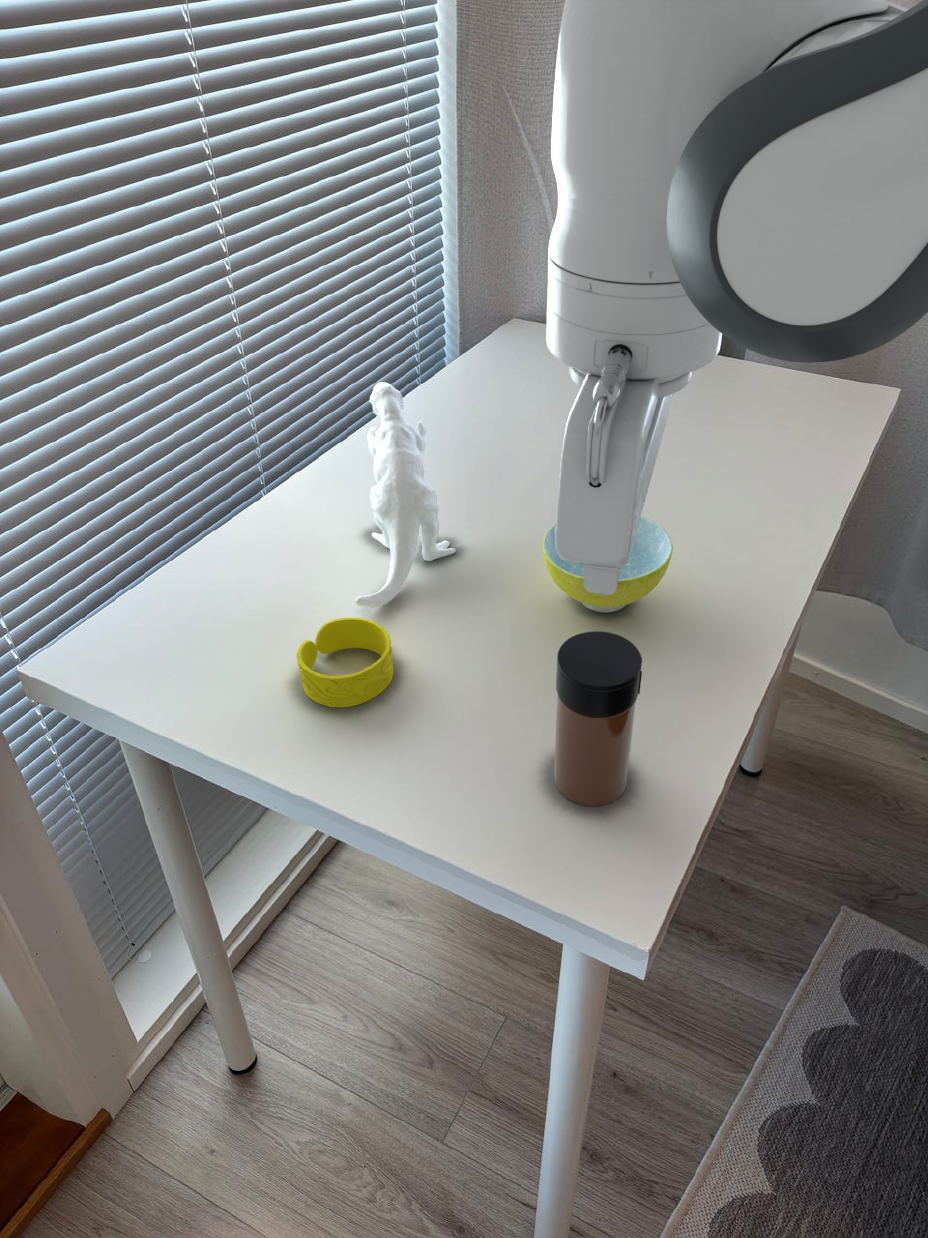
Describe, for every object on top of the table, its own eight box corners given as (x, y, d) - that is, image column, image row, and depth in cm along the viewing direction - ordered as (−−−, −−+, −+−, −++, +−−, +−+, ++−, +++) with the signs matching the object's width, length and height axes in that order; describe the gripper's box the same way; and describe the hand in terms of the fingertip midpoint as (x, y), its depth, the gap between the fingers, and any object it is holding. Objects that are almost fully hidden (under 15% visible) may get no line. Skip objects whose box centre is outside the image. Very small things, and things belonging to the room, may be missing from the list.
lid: (645, 669, 67) (648, 638, 65) (632, 724, 62) (636, 693, 61) (565, 655, 68) (566, 625, 66) (547, 708, 64) (548, 678, 62)
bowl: (525, 574, 91) (525, 520, 87) (636, 553, 93) (641, 499, 89) (565, 648, 83) (568, 591, 79) (686, 623, 85) (695, 566, 81)
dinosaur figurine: (381, 504, 102) (368, 374, 93) (469, 510, 100) (464, 379, 91) (327, 619, 87) (305, 479, 77) (430, 629, 85) (420, 486, 76)
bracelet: (410, 663, 82) (408, 633, 80) (355, 720, 77) (351, 691, 75) (342, 635, 85) (338, 607, 83) (285, 689, 80) (279, 660, 78)
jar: (631, 759, 72) (645, 644, 65) (620, 813, 68) (632, 697, 61) (562, 746, 74) (567, 631, 66) (546, 797, 70) (550, 682, 62)
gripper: (673, 410, 39) (643, 661, 48) (715, 250, 54) (687, 463, 63) (525, 395, 41) (522, 641, 49) (606, 244, 56) (593, 452, 65)
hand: (615, 540), depth 56 cm, fingers open, 8 cm apart
